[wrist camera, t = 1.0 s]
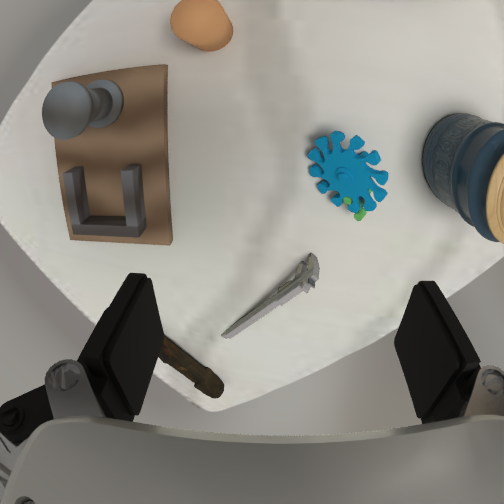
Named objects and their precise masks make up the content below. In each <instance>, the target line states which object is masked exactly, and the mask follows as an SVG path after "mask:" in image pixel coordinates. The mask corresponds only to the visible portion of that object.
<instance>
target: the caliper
mask: <svg viewBox="0 0 504 504" xmlns="http://www.w3.org/2000/svg"><path fill="white" fill-rule="evenodd" d="M319 269H320V268H319V264H318V260H317V257H316V256H314V255H313V254H312V253H310V254H309V260H308V268H307V264H306V263H305V262H304V261H301V262H300V264H299V267H298V269H297V272H296V275H295V278H294V279H293V280H291V281H288V282H286V283H285V284H284V285H283V286H281V287H279V288H278V292H277V293H276V294H275V295H273V296H272V297H271V298H269V299H268V300H267V301H265V302H264V303H262V304H261V305H260V306H258V307H257V308H256V309H254V310H253V311H251V312H250V313H249V314H247V315H246V316H244V317H243V318H242V319H240V320H239V321H237V322H236V323H235V324H233V325H232V326H231V327H230V328H228V329H227V330H226V332H225V333H223V334H222V335H221V336H222V337H224V338H226V339H227V338H229V339H230V338H232V337H233V336H235V335H236V334H238V333H239V332H241V331H242V330H244V329H245V328H247V327H248V326H250V325H251V324H253V323H254V322H256V321H257V320H259V319H260V318H262V317H263V316H264V315H266V314H267V313H269V312H270V311H272V310H273V309H275V308H276V307H277V306H279V305H281V306H282V305H283V304H285V303H286V302H288V301H289V300H291V299H292V298H293V297H295V296H296V295H298V294H299V293H301V292H302V291H305V292H306V293H308V291H309V289H310V287H312V288H315V282H316V281H317V280H318V279H319Z"/></svg>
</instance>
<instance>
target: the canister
mask: <svg viewBox="0 0 504 504" xmlns="http://www.w3.org/2000/svg"><path fill="white" fill-rule="evenodd" d="M423 170H424V174H425V178H426V180H427V182H428V184H429V186H430V188H431V189H432V191H433V192H434V194H435V195H436V196H437V197H438V198H439V199H440V200H441V201H442V202H443V203H444V204H446V205H447V206H449V207H451V208H453V209H454V210H455V211H456V212H458V213H459V214H460V216H461V217H462V218H463V219H464V220H465V221H466V222H467V223H468V224H470V225H471V226H473V227H475V228H476V230H477V231H478V232H479V233H480V234H481V235H482V236H483V237H484V238H486V239H488V240H490V241H494V242H501V243H503V244H504V124H503V123H498V122H491V121H488V120H484V119H482V118H480V117H478V116H475V115H471V114H455V115H451V116H448V117H446V118H444V119H442V120H441V121H439V122H438V123H437V124H436V125H435V126H434V128H433V129H432V130H431V132H430V134H429V135H428V138H427V140H426V143H425V146H424V151H423Z"/></svg>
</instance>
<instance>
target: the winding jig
mask: <svg viewBox="0 0 504 504" xmlns="http://www.w3.org/2000/svg"><path fill="white" fill-rule="evenodd" d="M167 76H168V65H164V64H163V65H152V66H143V67H134V68H126V69H119V70H112V71H106V72H100V73H94V74H89V75H83V76H78V77H73V78H69V79H64V80H60V81H56V82H52V89H51V90H50V91H49V93H48V94H47V96H46V98H45V100H44V103H43V108H42V118H43V123H44V126H45V128H46V129H47V131H48V132H49V133H50V134H51V135H52V136H53V137H54V139H55V149H56V158H57V166H58V174H59V181H60V188H61V194H62V200H63V206H64V211H65V216H66V222H67V227H68V231H69V236H70V240H81V241H99V242H117V243H135V244H153V245H170V244H171V243H172V241H173V236H172V223H171V207H170V190H169V168H168V133H167Z"/></svg>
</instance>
